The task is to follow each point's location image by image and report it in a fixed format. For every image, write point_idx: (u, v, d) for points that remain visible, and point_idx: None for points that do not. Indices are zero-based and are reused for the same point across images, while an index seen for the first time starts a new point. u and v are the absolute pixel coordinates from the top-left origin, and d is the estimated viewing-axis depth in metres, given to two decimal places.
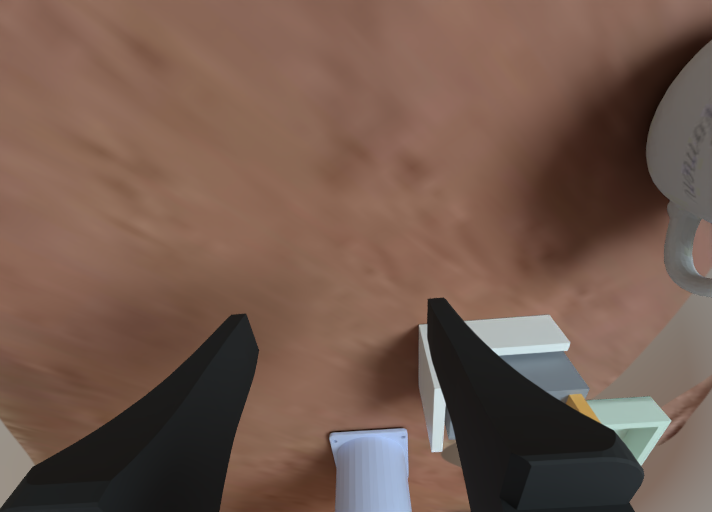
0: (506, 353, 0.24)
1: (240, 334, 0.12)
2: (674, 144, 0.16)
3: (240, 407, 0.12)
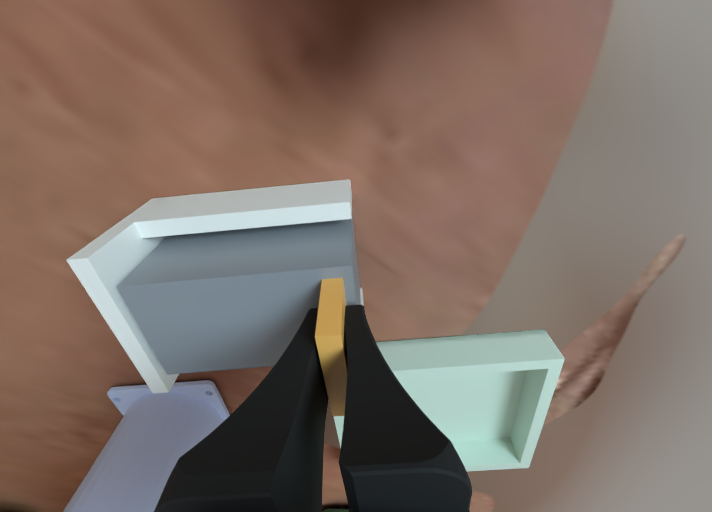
0: (255, 226, 0.15)
1: None
2: None
3: (326, 401, 0.12)
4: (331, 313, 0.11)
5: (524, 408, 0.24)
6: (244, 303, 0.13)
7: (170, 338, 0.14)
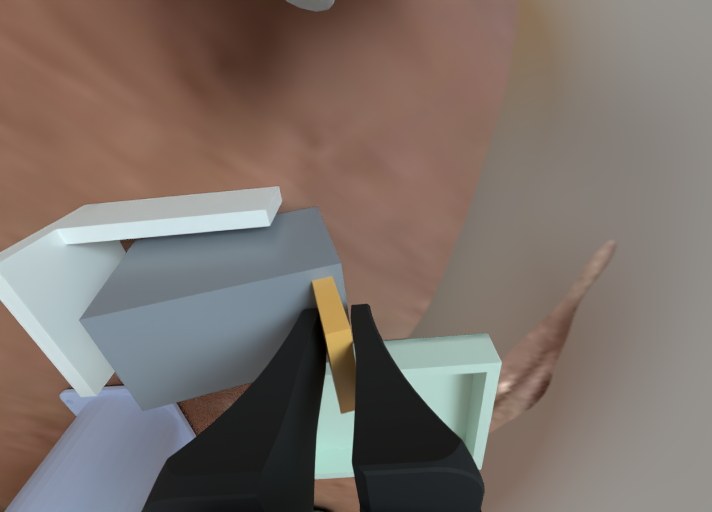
0: (176, 233, 0.15)
1: (317, 328, 0.12)
2: None
3: (319, 402, 0.12)
4: (333, 311, 0.11)
5: (473, 410, 0.25)
6: (231, 317, 0.12)
7: (146, 368, 0.13)
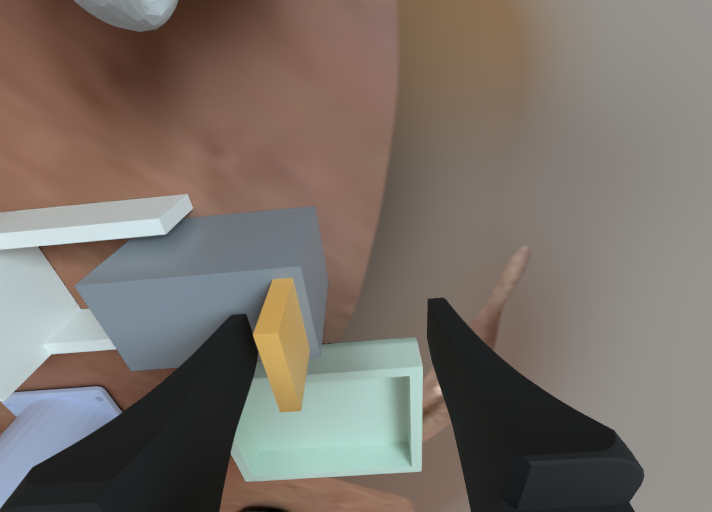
0: (76, 241, 0.15)
1: (240, 334, 0.12)
2: None
3: (240, 407, 0.12)
4: (273, 313, 0.11)
5: (408, 413, 0.25)
6: (199, 303, 0.14)
7: (131, 335, 0.14)
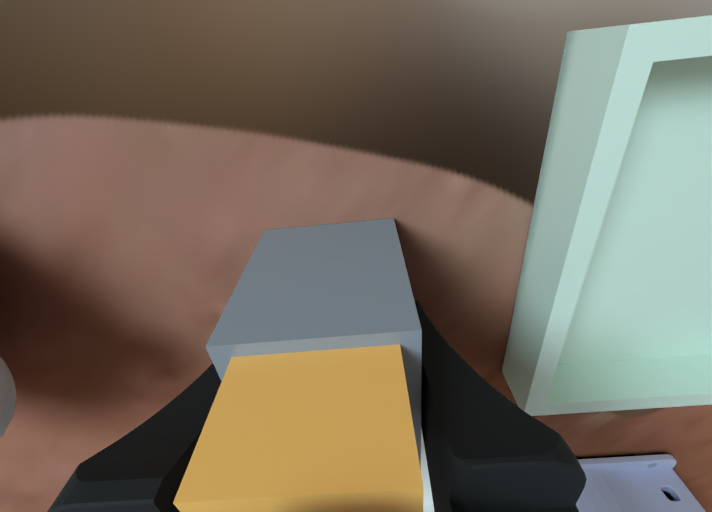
0: None
1: None
2: None
3: None
4: None
5: None
6: None
7: None
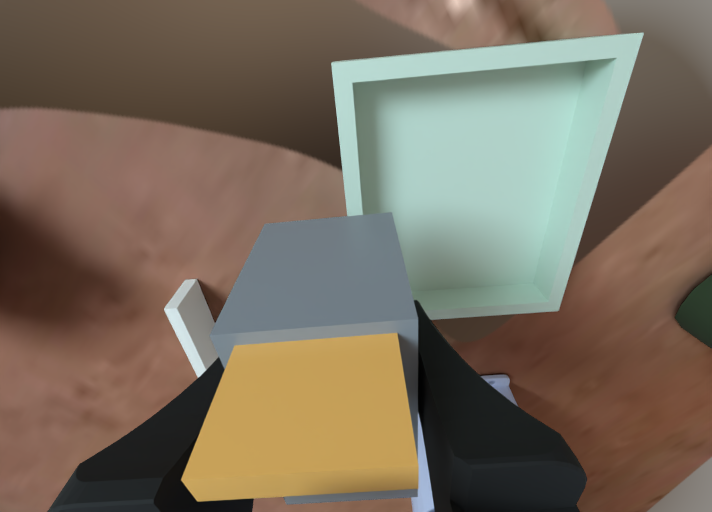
0: (201, 356, 0.22)
1: None
2: None
3: None
4: None
5: None
6: None
7: None
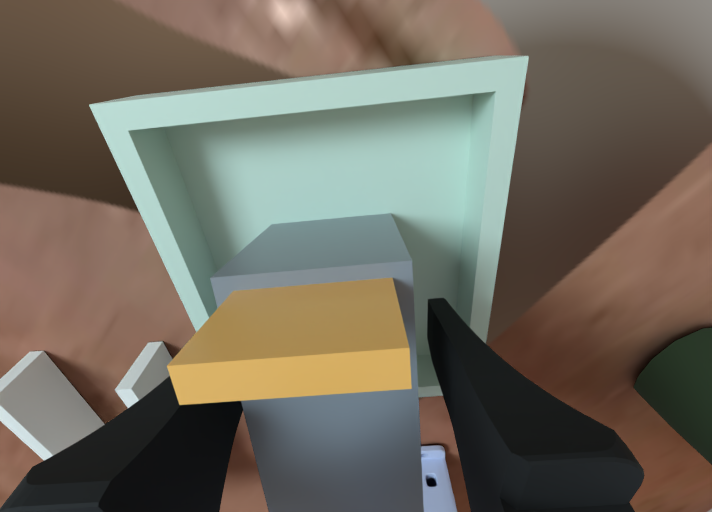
0: (48, 446, 0.18)
1: None
2: None
3: (240, 407, 0.12)
4: None
5: None
6: (291, 415, 0.10)
7: (353, 502, 0.11)
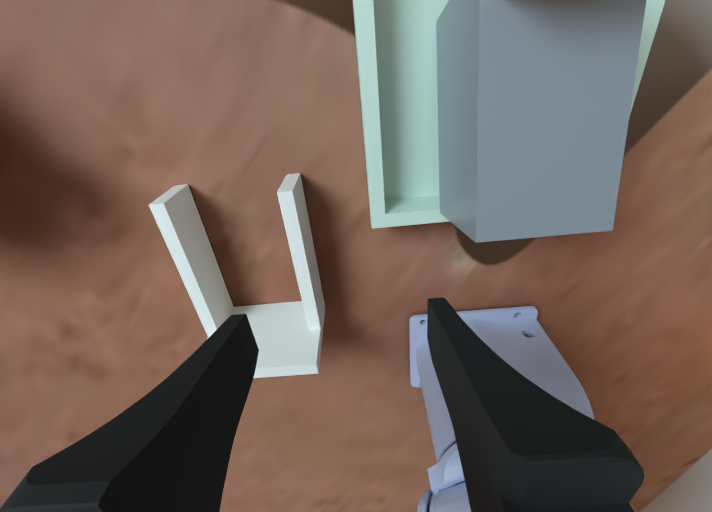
0: (193, 271, 0.20)
1: (240, 334, 0.12)
2: None
3: (240, 407, 0.12)
4: None
5: None
6: (518, 106, 0.11)
7: (554, 209, 0.12)
